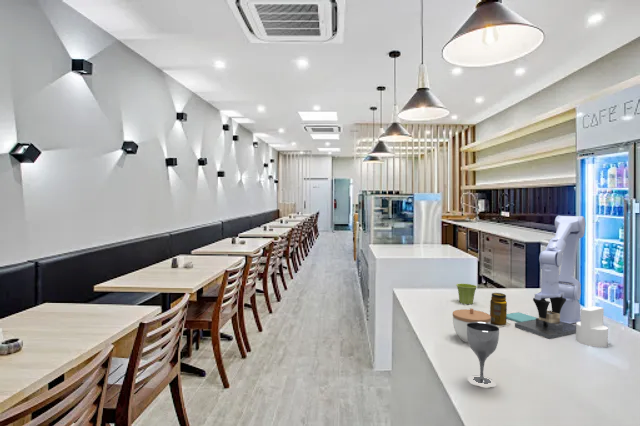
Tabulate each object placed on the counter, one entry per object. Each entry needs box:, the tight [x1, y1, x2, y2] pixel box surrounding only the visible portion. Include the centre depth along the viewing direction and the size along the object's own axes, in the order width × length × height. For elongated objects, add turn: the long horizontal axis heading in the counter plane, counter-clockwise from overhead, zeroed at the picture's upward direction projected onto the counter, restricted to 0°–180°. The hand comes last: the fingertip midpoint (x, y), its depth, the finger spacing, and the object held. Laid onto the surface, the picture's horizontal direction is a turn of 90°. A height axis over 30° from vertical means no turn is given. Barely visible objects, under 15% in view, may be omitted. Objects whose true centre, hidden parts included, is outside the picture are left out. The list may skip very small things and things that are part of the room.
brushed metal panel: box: [514, 313, 576, 340], centre depth 143 cm, size 20×14×6 cm
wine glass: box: [467, 322, 500, 384], centre depth 99 cm, size 8×8×15 cm
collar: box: [538, 309, 560, 323], centre depth 143 cm, size 5×5×3 cm
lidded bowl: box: [452, 308, 491, 343], centre depth 131 cm, size 13×13×11 cm
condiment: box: [489, 292, 511, 328], centre depth 150 cm, size 7×8×12 cm
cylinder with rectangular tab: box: [575, 305, 609, 348], centre depth 130 cm, size 9×9×12 cm
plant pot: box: [455, 283, 478, 305], centre depth 182 cm, size 9×9×9 cm
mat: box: [506, 311, 537, 323], centre depth 157 cm, size 11×10×1 cm
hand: (549, 316), depth 143 cm, fingers open, 7 cm apart
